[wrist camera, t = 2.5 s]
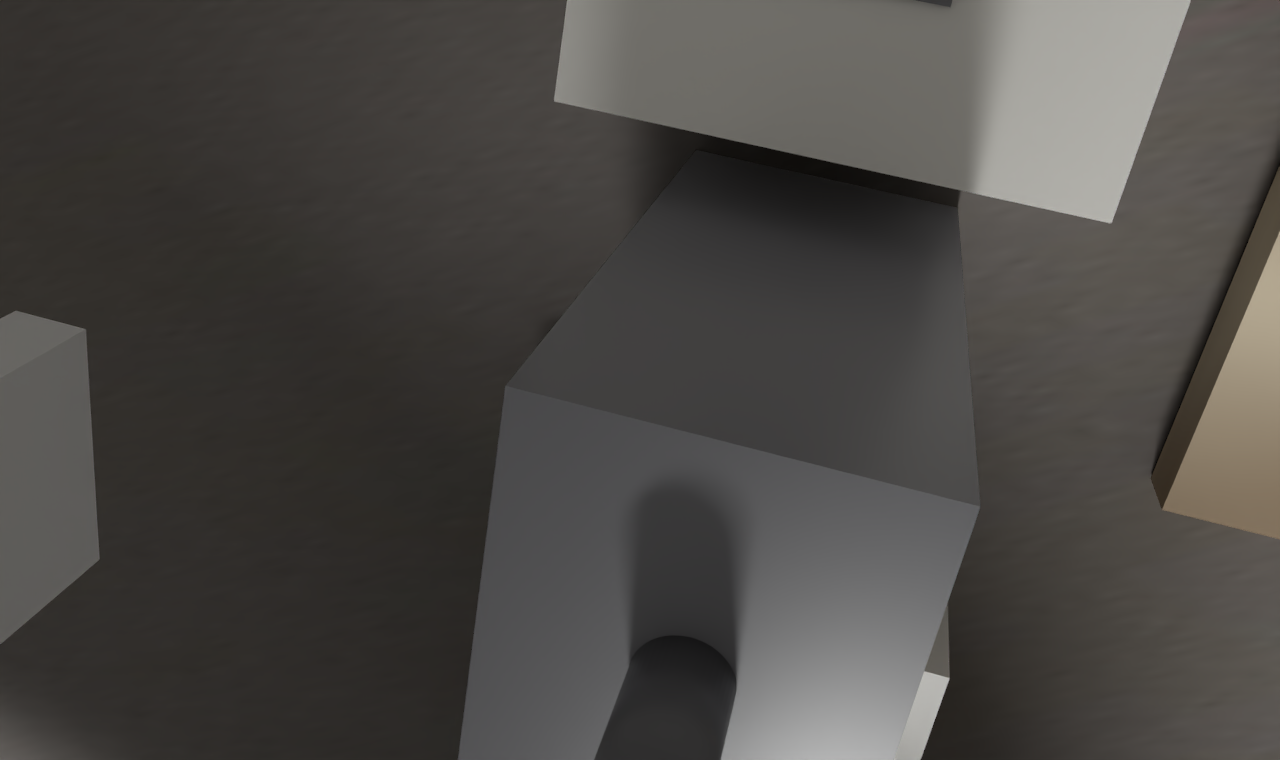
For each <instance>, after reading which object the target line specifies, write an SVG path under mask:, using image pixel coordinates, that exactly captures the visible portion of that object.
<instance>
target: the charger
mask: <svg viewBox="0 0 1280 760" xmlns="http://www.w3.org/2000/svg"><path fill="white" fill-rule="evenodd" d="M980 507H981V506H980V493H979V480H978V467H977V454H976V441H975V428H974V415H973V401H972V388H971V375H970V362H969V349H968V336H967V323H966V310H965V297H964V283H963V270H962V257H961V244H960V231H959V218H958V208H956V207H952V206H947V205H943V204H938V203H934V202H929V201H925V200H920V199H916V198H911V197H907V196H902V195H898V194H893V193H889V192H884V191H879V190H875V189H870V188H866V187H861V186H857V185H852V184H848V183H843V182H839V181H834V180H830V179H825V178H821V177H816V176H812V175H807V174H803V173H798V172H794V171H789V170H785V169H780V168H776V167H771V166H767V165H762V164H757V163H753V162H748V161H744V160H739V159H735V158H730V157H726V156H721V155H717V154H712V153H708V152H703V151H699V150H696V151H695V152H694V153H693V154H692V156H691V157H690V158H689V159H688V161H687V162H686V163H685V164H684V166H683V167H682V168H681V169H680V170H679V172H678V173H677V174H676V175H675V177H674V178H673V179H672V180H671V182H670V183H669V184H668V185H667V187H666V188H665V189H664V190H663V191H662V193H661V194H660V195H659V196H658V198H657V199H656V200H655V201H654V203H653V204H652V205H651V206H650V208H649V209H648V210H647V211H646V213H645V214H644V215H643V216H642V217H641V219H640V220H639V221H638V222H637V224H636V225H635V226H634V227H633V229H632V230H631V231H630V232H629V234H628V235H627V236H626V237H625V238H624V240H623V241H622V242H621V243H620V245H619V246H618V247H617V248H616V250H615V251H614V252H613V253H612V255H611V256H610V257H609V258H608V259H607V261H606V262H605V263H604V264H603V266H602V267H601V268H600V269H599V271H598V272H597V273H596V274H595V276H594V277H593V278H592V279H591V281H590V282H589V283H588V284H587V285H586V287H585V288H584V289H583V290H582V292H581V293H580V294H579V295H578V297H577V298H576V299H575V300H574V302H573V303H572V304H571V305H570V306H569V308H568V309H567V310H566V311H565V313H564V314H563V315H562V316H561V318H560V319H559V320H558V321H557V323H556V324H555V325H554V326H553V327H552V329H551V330H550V331H549V332H548V334H547V335H546V336H545V337H544V339H543V340H542V341H541V342H540V344H539V345H538V346H537V347H536V348H535V350H534V351H533V352H532V353H531V355H530V356H529V357H528V358H527V360H526V361H525V362H524V363H523V365H522V366H521V367H520V368H519V370H518V371H517V372H516V373H515V374H514V376H513V377H512V378H511V379H510V381H509V382H508V383H507V384H506V386H505V392H504V400H503V408H502V416H501V424H500V432H499V440H498V448H497V455H496V463H495V471H494V479H493V487H492V495H491V503H490V511H489V518H488V526H487V534H486V542H485V550H484V558H483V566H482V574H481V582H480V589H479V597H478V605H477V613H476V621H475V629H474V637H473V645H472V652H471V660H470V668H469V676H468V684H467V692H466V700H465V708H464V716H463V723H462V731H461V739H460V747H459V755H458V760H894V758H895V755H896V752H897V749H898V746H899V743H900V740H901V737H902V735H903V732H904V729H905V726H906V723H907V720H908V717H909V714H910V711H911V708H912V705H913V702H914V700H915V697H916V694H917V691H918V688H919V685H920V682H921V679H922V676H923V673H924V670H925V667H926V664H927V662H928V659H929V656H930V653H931V650H932V647H933V644H934V641H935V638H936V635H937V632H938V629H939V627H940V624H941V621H942V618H943V615H944V612H945V609H946V606H947V603H948V600H949V597H950V594H951V591H952V589H953V586H954V583H955V580H956V577H957V574H958V571H959V568H960V565H961V562H962V559H963V556H964V553H965V551H966V548H967V545H968V542H969V539H970V536H971V533H972V530H973V527H974V524H975V521H976V518H977V516H978V513H979V510H980Z"/></svg>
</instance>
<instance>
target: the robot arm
mask: <svg viewBox="0 0 1280 760" xmlns="http://www.w3.org/2000/svg"><path fill="white" fill-rule="evenodd" d="M99 560H100V557H99V540H98V523H97V507H96V490H95V473H94V456H93V439H92V422H91V405H90V389H89V372H88V355H87V338H86V329H84V328H80V327H76V326H72V325H68V324H65V323H61V322H57V321H53V320H50V319H46V318H42V317H38V316H34V315H31V314H27V313H23V312H19V311H14V312H12V313H10V314H8V315H6V316H4V317H2V318H1V319H0V644H1V643H3V642H4V641H5V640H6V639H7V638H9V637H10V636H11V635H12V634H13V633H14V632H16V631H17V630H18V629H19V628H20V627H21V626H23V625H24V624H25V623H26V622H27V621H28V620H30V619H31V618H32V617H33V616H34V615H35V614H37V613H38V612H39V611H40V610H41V609H42V608H44V607H45V606H46V605H47V604H48V603H49V602H51V601H52V600H53V599H54V598H55V597H56V596H58V595H59V594H60V593H61V592H62V591H63V590H65V589H66V588H67V587H68V586H69V585H70V584H72V583H73V582H74V581H75V580H76V579H78V578H79V577H80V576H81V575H82V574H83V573H85V572H86V571H87V570H88V569H89V568H90V567H92V566H93V565H94V564H95V563H96V562H97V561H99Z"/></svg>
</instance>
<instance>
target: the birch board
mask: <svg viewBox="0 0 1280 760" xmlns="http://www.w3.org/2000/svg"><path fill="white" fill-rule="evenodd" d="M1151 480H1152V483H1153V486H1154V489H1155V492H1156V494H1157V497H1158V500H1159V503H1160V506H1161V508H1162V510H1165V511H1169V512H1173V513H1177V514H1181V515H1185V516H1189V517H1193V518H1197V519H1201V520H1205V521H1209V522H1213V523H1217V524H1221V525H1225V526H1229V527H1233V528H1237V529H1241V530H1245V531H1249V532H1253V533H1257V534H1261V535H1265V536H1269V537H1273V538H1277V539H1280V166H1279V168H1278V171H1277V173H1276V176H1275V178H1274V180H1273V183H1272V185H1271V188H1270V190H1269V192H1268V195H1267V197H1266V200H1265V202H1264V205H1263V207H1262V209H1261V212H1260V214H1259V217H1258V219H1257V222H1256V224H1255V226H1254V229H1253V231H1252V234H1251V236H1250V239H1249V241H1248V243H1247V246H1246V248H1245V251H1244V253H1243V256H1242V258H1241V260H1240V263H1239V265H1238V268H1237V270H1236V273H1235V275H1234V277H1233V280H1232V282H1231V285H1230V287H1229V290H1228V292H1227V294H1226V297H1225V299H1224V302H1223V304H1222V306H1221V309H1220V311H1219V314H1218V316H1217V319H1216V321H1215V323H1214V326H1213V328H1212V331H1211V333H1210V336H1209V338H1208V340H1207V343H1206V345H1205V348H1204V350H1203V353H1202V355H1201V357H1200V360H1199V362H1198V365H1197V367H1196V370H1195V372H1194V374H1193V377H1192V379H1191V382H1190V384H1189V387H1188V389H1187V391H1186V394H1185V396H1184V399H1183V401H1182V404H1181V406H1180V408H1179V411H1178V413H1177V416H1176V418H1175V421H1174V423H1173V425H1172V428H1171V430H1170V433H1169V435H1168V437H1167V440H1166V442H1165V445H1164V447H1163V450H1162V452H1161V454H1160V457H1159V459H1158V462H1157V464H1156V467H1155V469H1154V471H1153V474H1152V476H1151Z"/></svg>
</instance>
